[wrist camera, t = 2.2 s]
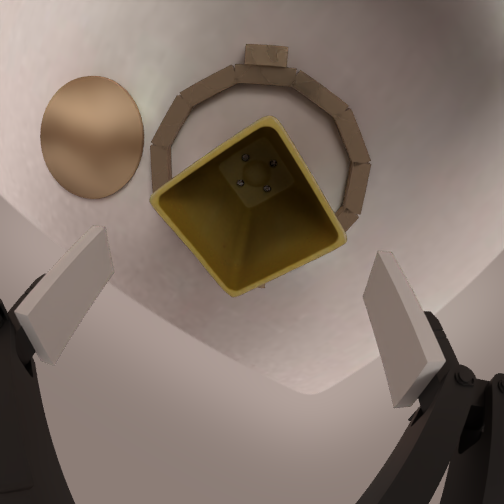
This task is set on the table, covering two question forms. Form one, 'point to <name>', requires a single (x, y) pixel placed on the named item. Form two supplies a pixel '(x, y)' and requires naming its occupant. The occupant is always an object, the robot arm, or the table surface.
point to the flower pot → (250, 209)
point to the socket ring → (270, 73)
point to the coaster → (92, 137)
